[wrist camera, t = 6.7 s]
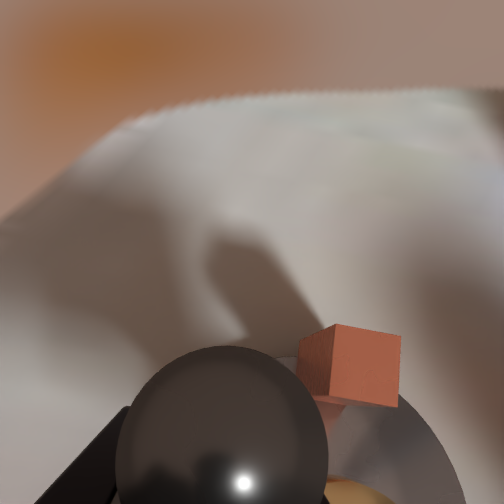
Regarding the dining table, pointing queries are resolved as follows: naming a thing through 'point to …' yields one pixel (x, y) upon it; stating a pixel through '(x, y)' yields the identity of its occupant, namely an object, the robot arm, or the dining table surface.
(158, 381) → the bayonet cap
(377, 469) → the post base
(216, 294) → the dining table surface
